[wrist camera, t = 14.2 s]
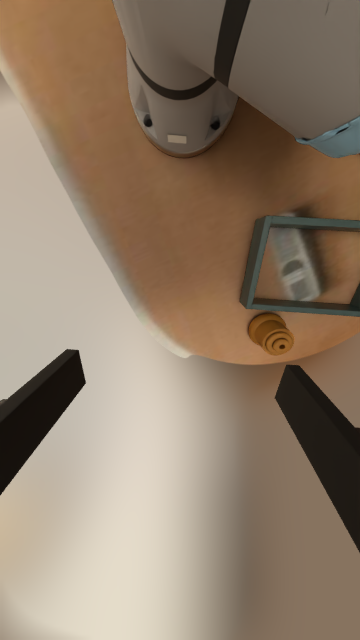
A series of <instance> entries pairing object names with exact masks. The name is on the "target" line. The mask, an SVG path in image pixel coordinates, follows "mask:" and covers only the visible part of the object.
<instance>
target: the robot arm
mask: <svg viewBox="0 0 360 640" xmlns="http://www.w3.org/2000/svg"><path fill="white" fill-rule="evenodd" d="M112 1H113V4H114V7H115V10H116V13H117V16H118V19H119V22H120V25H121V28H122V31H123V34H124V37H125V40H126V51H127V79H128V88H129V94H130V99H131V102H132V106H133V109H134V112H135V114H136V117H137V119H138V122H139V124H140V126H141V128H142V130H143V132H144V133H145V135H146V136H147V138H148V139H149V140H150V141H151V143H152V144H153V145H154V146H155V147H157V148H158V149H159V150H161V151H162V152H164V153H166V154H168V155H170V156H173V157H179V158H188V157H193V156H196V155H199V154H201V153H203V152H205V151H206V150H208V149H209V148H210V147H211V146H213V145H214V144H215V143H216V142H217V141H218V139H219V138H220V137H221V136H222V134H223V133H224V131H225V130H226V128H227V126H228V124H229V122H230V120H231V118H232V115H233V113H234V110H235V107H236V104H237V100H238V97H241V98H242V99H243V100H245V101H246V102H248V103H249V104H250V105H252V106H253V107H255V108H256V109H257V110H259V111H260V112H261V113H263V114H264V115H266V116H267V117H268V118H270V119H271V120H273V121H274V122H275V123H277V124H278V125H279V126H281V127H282V128H284V129H285V130H286V131H288V132H289V133H291V134H292V135H293V136H295V140H296V141H297V142H298V143H300V144H303V145H310V146H312V147H313V148H315V149H317V150H318V151H320V152H322V153H323V154H325V155H327V156H329V157H333V158H340V157H344V156H348V155H355V154H358V153H360V0H112ZM85 384H86V381H85V377H84V373H83V368H82V364H81V359H80V355H79V350H71V349H67V350H65V351H64V352H63V353H62V354H61V355H59V356H58V357H57V358H56V359H55V360H53V361H52V362H51V363H50V364H49V365H47V366H46V367H45V368H44V369H43V370H41V371H40V372H39V373H38V374H37V375H36V376H35V377H33V378H32V379H31V380H30V381H28V382H27V383H26V384H25V385H24V386H23V387H21V388H20V389H19V390H18V391H16V392H15V393H14V394H13V395H12V396H10V397H9V398H8V399H3V400H1V401H0V495H1V494H2V492H3V491H4V490H5V488H6V487H7V486H8V484H9V483H10V482H11V481H12V479H13V478H14V477H15V475H16V474H17V473H18V471H19V470H20V469H21V467H22V466H23V465H24V463H25V462H26V461H27V460H28V458H29V457H30V456H31V454H32V453H33V452H34V450H35V449H36V448H37V446H38V445H39V444H40V443H41V441H42V440H43V439H44V437H45V436H46V435H47V433H48V432H49V431H50V429H51V428H52V427H53V425H54V424H55V423H56V422H57V420H58V419H59V418H60V416H61V415H62V414H63V412H64V411H65V410H66V408H67V407H68V406H69V405H70V403H71V402H72V401H73V399H74V398H75V397H76V395H77V394H78V393H79V391H80V390H81V389H82V387H83V386H84V385H85ZM275 399H276V401H277V402H278V404H279V406H280V408H281V410H282V412H283V414H284V415H285V417H286V419H287V421H288V423H289V425H290V426H291V428H292V430H293V432H294V433H295V435H296V437H297V439H298V441H299V443H300V444H301V446H302V448H303V450H304V452H305V454H306V456H307V457H308V459H309V461H310V463H311V464H312V466H313V468H314V470H315V472H316V474H317V475H318V477H319V479H320V481H321V483H322V485H323V486H324V488H325V490H326V492H327V494H328V496H329V497H330V499H331V501H332V503H333V505H334V506H335V508H336V510H337V512H338V514H339V515H340V517H341V519H342V521H343V523H344V525H345V527H346V528H347V530H348V532H349V534H350V536H351V538H352V539H353V541H354V543H355V545H356V546H357V548H358V550H359V552H360V428H355V427H354V426H353V425H352V424H351V423H350V422H349V421H348V419H347V418H346V417H345V416H344V415H343V414H342V413H341V412H340V411H339V409H338V408H337V407H336V406H335V405H334V404H333V403H332V402H331V401H330V399H329V398H328V397H327V396H326V395H325V394H324V393H323V392H322V390H320V388H319V387H318V386H317V385H316V384H315V383H314V382H313V380H312V379H311V378H310V377H309V376H308V375H307V374H306V373H305V372H304V370H303V369H302V368H301V367H300V366H298V365H286V367H285V370H284V373H283V376H282V378H281V381H280V384H279V387H278V390H277V393H276V396H275Z"/></svg>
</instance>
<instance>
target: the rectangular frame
mask: <svg viewBox="0 0 360 640" xmlns="http://www.w3.org/2000/svg"><path fill="white" fill-rule="evenodd" d="M270 227H281V228H299V229H318V230H336V231H354V232H360V221H359V220H340V219H321V218H302V217H284V216H264V217H262V218H259V219H257V220H256V222H255V227H254V232H253V237H252V242H251V247H250V252H249V257H248V262H247V267H246V272H245V277H244V282H243V287H242V293H241V298H240V303H241V304H242V305H243V306H244V307H245V308H246V309H257V310H271V311H285V312H300V313H314V314H328V315H343V316H357V317H360V284H359V286H358V288H357V290H356V292H355V294H354V297H353V299H352V301H351V303H350V305H349V304H334V303H319V302H305V301H290V300H275V299H260V298H254V294H255V290H256V286H257V281H258V277H259V273H260V268H261V264H262V259H263V255H264V251H265V246H266V242H267V238H268V233H269V229H270Z"/></svg>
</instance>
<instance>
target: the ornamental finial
mask: <svg viewBox="0 0 360 640" xmlns="http://www.w3.org/2000/svg"><path fill="white" fill-rule="evenodd" d="M249 336H250V338H251V340H252V341H253V342H254V343H256V344H258V345H260V346H261V347H262V348H263V349H264V351H265V352H266V353H268V354H270V355H281V354H284V353H286V352H287V351H289V350H290V349H291V348H292V346H293V344H294V336H293V334H292V333H291V332H290V331H289V330H288V329H287V328H286V324H285V322H284V320H283V319H282V318H281V317H280V316H278V315H276V314H271V313H266V314H262V315H259V316H258V317H256V318H255V319H254V320H253V321H252V322H251V324H250V326H249Z"/></svg>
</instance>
